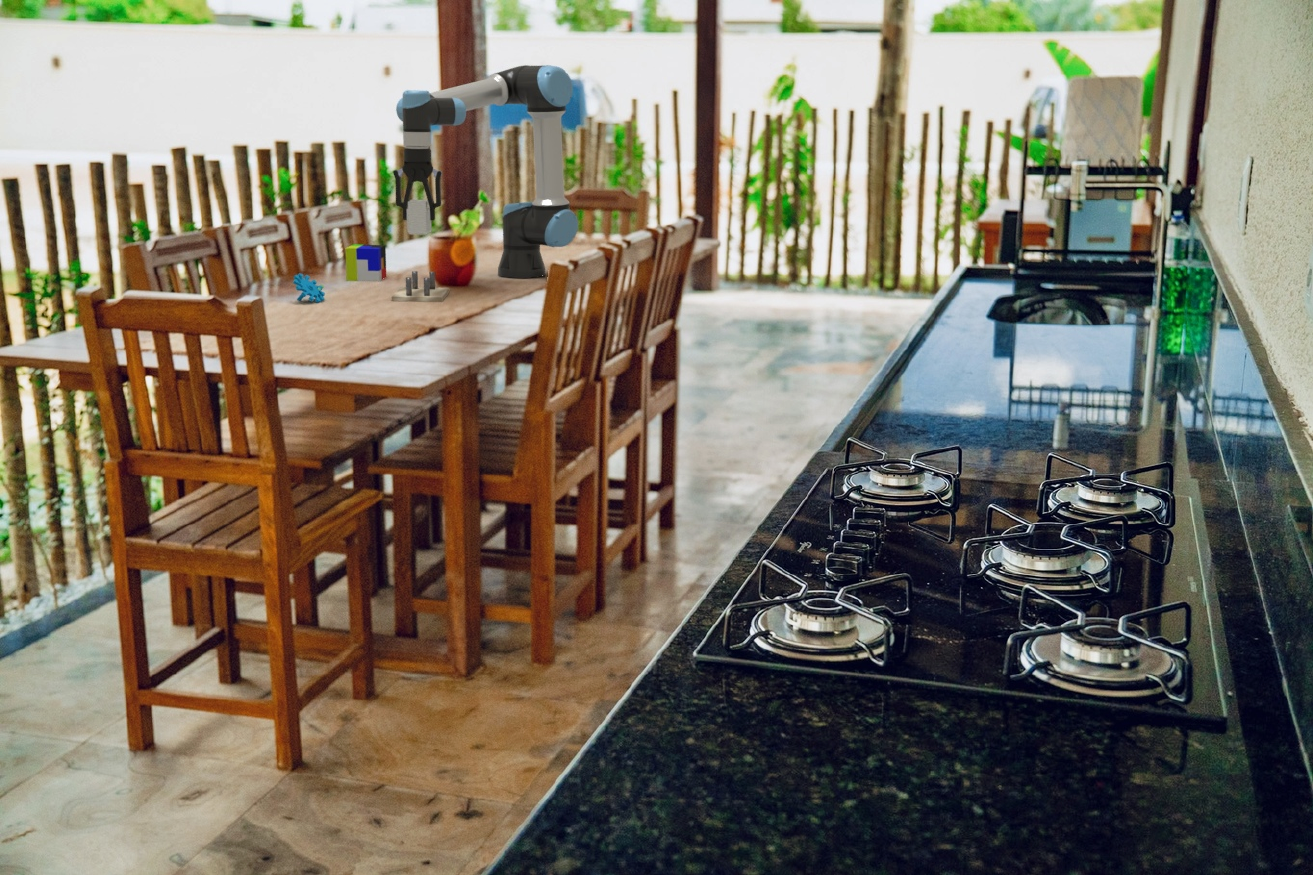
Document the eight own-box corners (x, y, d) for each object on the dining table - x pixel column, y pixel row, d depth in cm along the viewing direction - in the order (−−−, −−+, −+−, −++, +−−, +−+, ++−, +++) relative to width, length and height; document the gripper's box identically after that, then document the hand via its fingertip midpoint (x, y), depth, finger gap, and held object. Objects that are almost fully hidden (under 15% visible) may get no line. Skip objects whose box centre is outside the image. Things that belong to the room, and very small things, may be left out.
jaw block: (429, 232, 376) (429, 200, 374) (426, 234, 369) (425, 202, 367) (412, 231, 376) (411, 199, 374) (408, 234, 369) (407, 201, 367)
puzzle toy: (379, 281, 403) (378, 249, 401) (346, 281, 403) (345, 248, 401) (386, 277, 413) (385, 245, 410) (354, 276, 413) (353, 244, 411)
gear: (308, 299, 358) (289, 271, 360) (295, 313, 360) (276, 285, 362) (335, 299, 367) (316, 272, 370) (322, 313, 370) (303, 286, 372)
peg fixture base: (449, 291, 386) (448, 270, 385) (442, 301, 369) (441, 279, 367) (401, 291, 386) (400, 270, 384) (391, 300, 368) (390, 278, 367)
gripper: (451, 147, 371) (452, 231, 377) (386, 146, 370) (389, 230, 376) (448, 149, 363) (450, 234, 369) (382, 147, 363) (385, 232, 369)
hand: (419, 231), depth 373 cm, fingers closed on jaw block, 5 cm apart
